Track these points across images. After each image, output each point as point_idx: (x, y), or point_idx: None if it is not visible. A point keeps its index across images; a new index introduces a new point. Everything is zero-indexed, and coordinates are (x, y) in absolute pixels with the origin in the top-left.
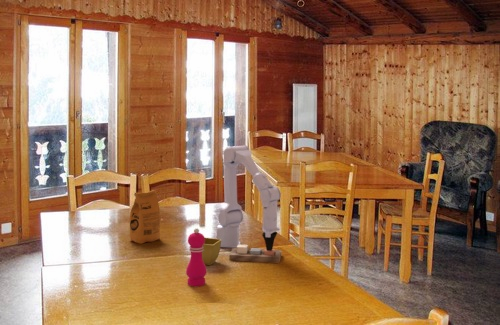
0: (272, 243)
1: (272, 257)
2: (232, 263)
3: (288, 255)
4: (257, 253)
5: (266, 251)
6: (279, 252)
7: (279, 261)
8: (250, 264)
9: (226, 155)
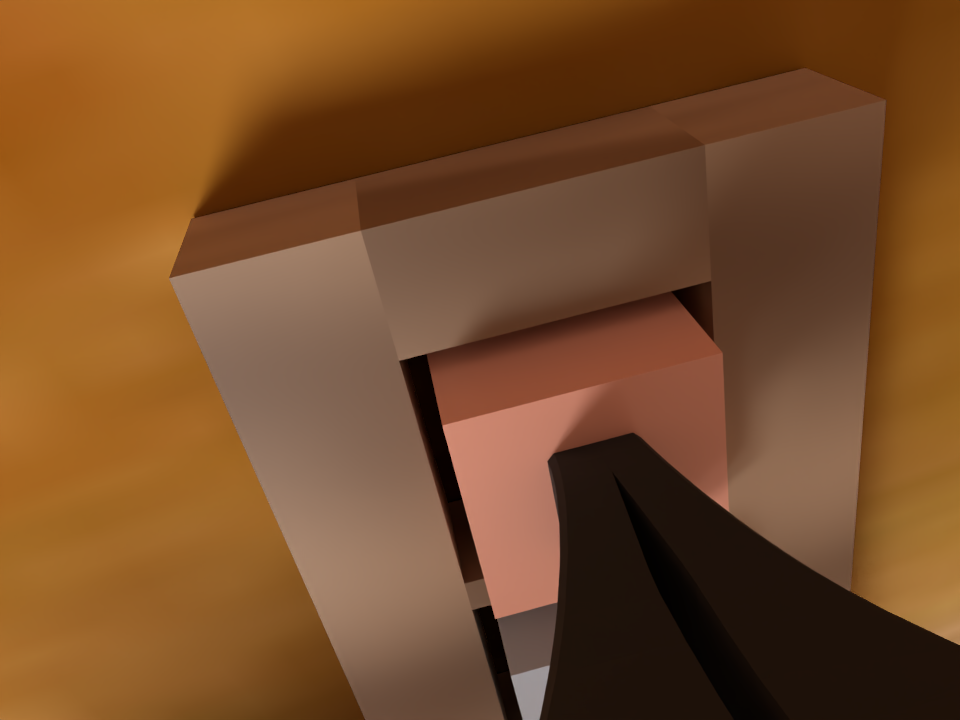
0: (778, 564)
1: (867, 271)
2: None
3: (66, 32)
4: None
5: (727, 507)
6: (419, 253)
7: (758, 84)
8: (955, 505)
9: None
